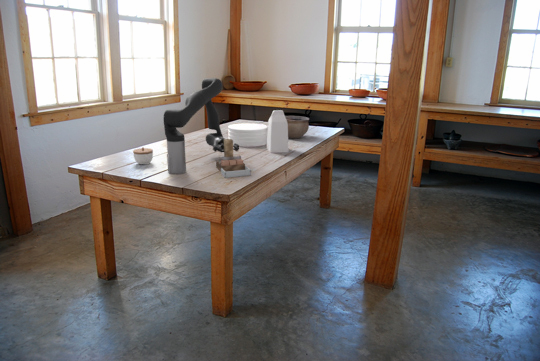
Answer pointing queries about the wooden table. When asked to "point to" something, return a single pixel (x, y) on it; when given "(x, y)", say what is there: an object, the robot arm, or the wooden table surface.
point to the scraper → (228, 151)
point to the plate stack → (248, 134)
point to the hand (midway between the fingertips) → (229, 150)
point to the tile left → (224, 162)
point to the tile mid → (232, 162)
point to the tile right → (239, 161)
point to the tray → (236, 172)
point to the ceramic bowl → (297, 126)
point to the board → (230, 167)
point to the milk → (277, 132)
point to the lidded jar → (143, 155)
